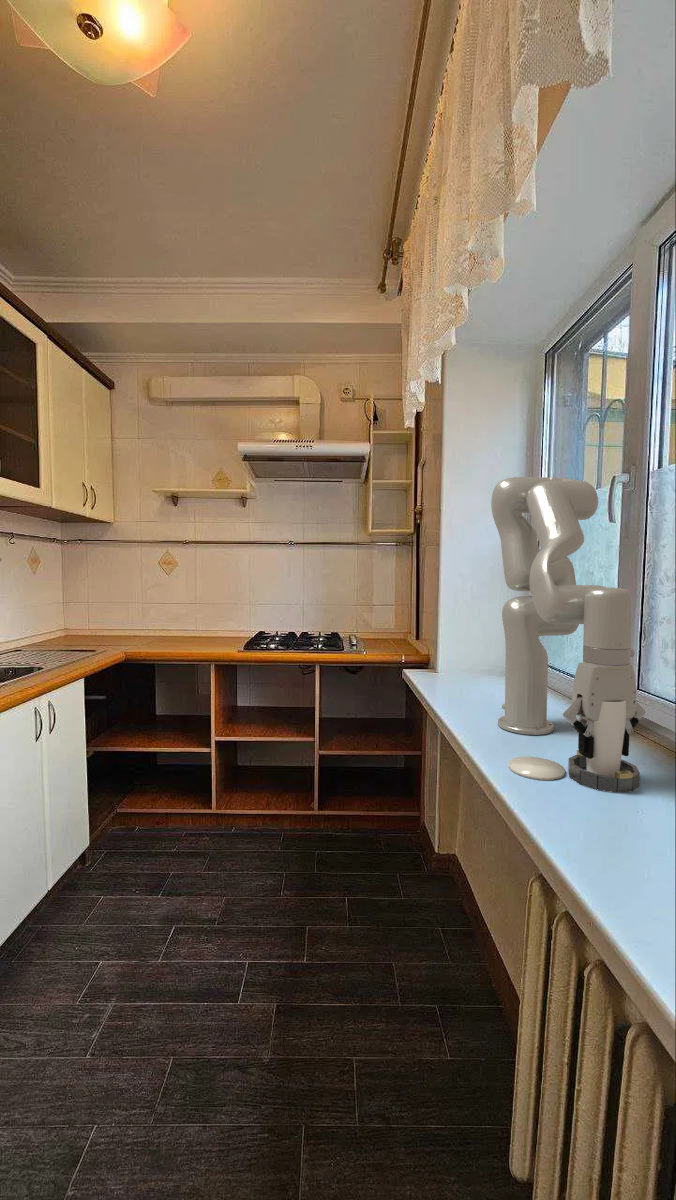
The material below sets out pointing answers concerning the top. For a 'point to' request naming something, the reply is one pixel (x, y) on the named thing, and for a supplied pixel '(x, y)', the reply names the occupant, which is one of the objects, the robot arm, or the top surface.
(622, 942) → the top surface
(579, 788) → the top surface
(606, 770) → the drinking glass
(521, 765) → the disc
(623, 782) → the collar
